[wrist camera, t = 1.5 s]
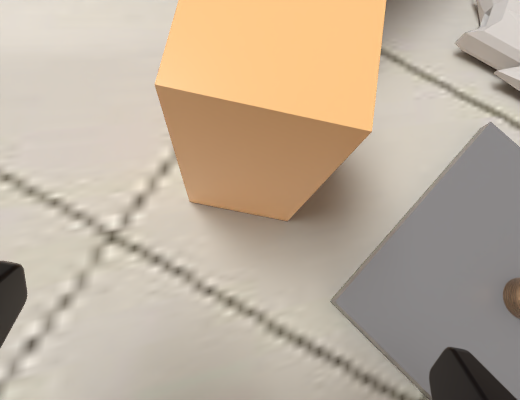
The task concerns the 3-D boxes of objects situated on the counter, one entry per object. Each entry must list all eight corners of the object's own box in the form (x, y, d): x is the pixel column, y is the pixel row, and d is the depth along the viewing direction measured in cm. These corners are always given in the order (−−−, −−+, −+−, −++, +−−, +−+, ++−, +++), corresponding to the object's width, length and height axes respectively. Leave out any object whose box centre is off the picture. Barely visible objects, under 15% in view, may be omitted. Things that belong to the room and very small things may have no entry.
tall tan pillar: (287, 221, 23) (371, 131, 10) (189, 201, 23) (154, 84, 10) (302, 131, 24) (390, -40, 12) (210, 112, 24) (203, -86, 12)
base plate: (545, 514, 20) (562, 524, 20) (329, 301, 22) (335, 301, 21) (670, 295, 24) (689, 295, 24) (480, 128, 26) (490, 121, 25)
